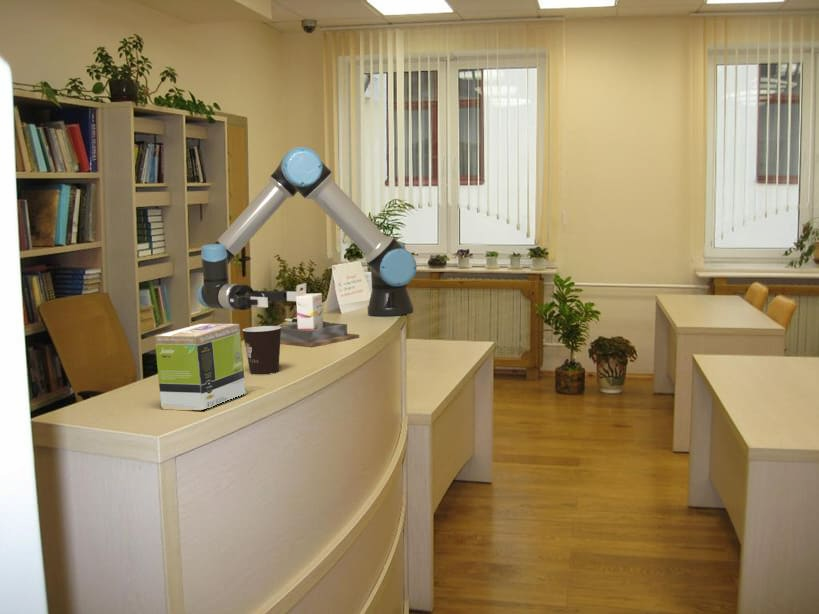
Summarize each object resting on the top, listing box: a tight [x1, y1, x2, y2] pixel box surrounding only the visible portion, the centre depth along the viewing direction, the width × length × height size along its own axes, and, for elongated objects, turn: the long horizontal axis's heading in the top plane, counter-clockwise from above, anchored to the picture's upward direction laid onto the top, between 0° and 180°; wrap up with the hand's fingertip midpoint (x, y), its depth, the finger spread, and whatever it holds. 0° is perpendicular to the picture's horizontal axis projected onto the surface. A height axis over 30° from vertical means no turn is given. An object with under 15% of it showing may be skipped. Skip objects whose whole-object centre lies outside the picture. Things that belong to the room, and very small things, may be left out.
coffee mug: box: [241, 325, 282, 375], centre depth 212 cm, size 12×9×10 cm
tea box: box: [154, 323, 247, 409], centre depth 181 cm, size 15×10×15 cm, turn 157°
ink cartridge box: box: [295, 282, 324, 330], centre depth 257 cm, size 9×5×15 cm, turn 168°
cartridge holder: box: [280, 321, 360, 348], centre depth 257 cm, size 18×20×4 cm
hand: (285, 299), depth 263 cm, fingers open, 13 cm apart
